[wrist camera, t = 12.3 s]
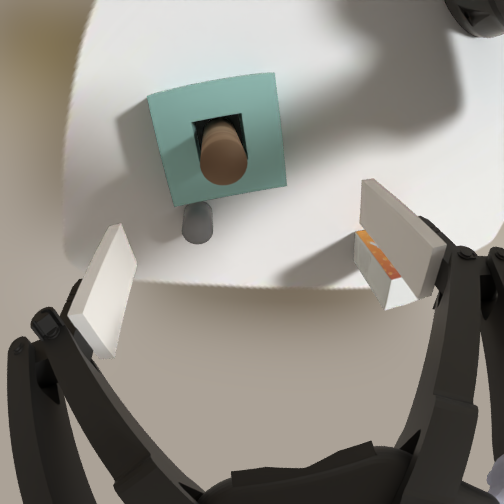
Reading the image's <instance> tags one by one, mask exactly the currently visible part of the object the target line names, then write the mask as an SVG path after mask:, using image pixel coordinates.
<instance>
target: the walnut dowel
mask: <svg viewBox="0 0 504 504" xmlns="http://www.w3.org/2000/svg"><path fill="white" fill-rule="evenodd" d="M247 163H248V162H247V156H246V154H245V151H244V149H243V147H242V144H241V142H240V140H239V137H238V135H237V133H236V130H235V128H234V126H233V124H232V123H231V122H230V121H229V120H228V119H226V118H223V117H216V118H213V119H211V120H209V121H208V122H207V123H206V125H205V127H204V131H203V140H202V149H201V158H200V168H201V172H202V174H203V175H204V177H205V178H206V179H207V180H208V181H210V182H211V183H213V184H216V185H230V184H233V183H235V182H237V181H238V180H239V179H241V178H242V176H243V175H244V174H245V172H246V169H247Z"/></svg>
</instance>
